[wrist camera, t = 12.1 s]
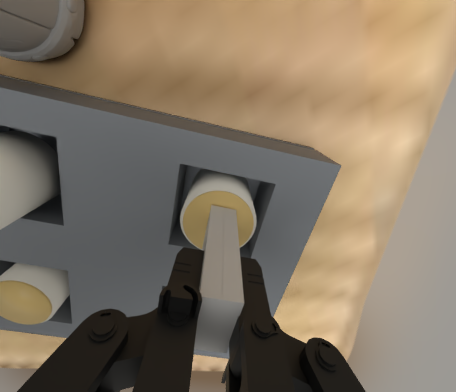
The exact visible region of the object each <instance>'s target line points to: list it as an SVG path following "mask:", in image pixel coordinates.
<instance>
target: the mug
mask: <svg viewBox="0 0 456 392" xmlns="http://www.w3.org/2000/svg"><path fill="white" fill-rule="evenodd" d="M84 9H85V7H84V0H0V56H2V57H6V58H9V59H13V60H18V61H27V62H36V61H43V60H47V59H50V58H55V57H58V56H61V55H63V54H65V53H66V52H68V51H69V50H70V49H71V48H72V47H73V46H74V41H73V38H75V39H78V38H79V37H80V35H81V32H82V29H83V22H84Z"/></svg>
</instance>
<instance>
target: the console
mask: <svg viewBox="0 0 456 392" xmlns="http://www.w3.org/2000/svg"><path fill="white" fill-rule="evenodd" d="M6 131H22V132H26V133H29V134H32V135H34V136H36V137H38V138H40V139H41V140H43V141H44V142H46V143H47V144H48V145H49V146H50V147H52V148H53V150H54V151H55V152H56V153H57V154H58V163H59V175H60V186H61V193H60V194H58V195H57V196H56V197H54V198H52V199H51V200H49V201H47V202H46V203H44V204H42V205H41V206H39V207H37V208H36V209H34V210H32V211H31V212H29V213H27V214H26V215H24V216H22V217H21V218H19V219H17V220H16V221H14V222H12V223H11V224H9V225H7V226H6V227H4V228H2V229H1V230H0V276H1V275H2V274H3V273H4V272H5V271H7V270H8V269H9V268H10V267H12V266H13V265H14V264H15V263H22V264H28V265H34V266H41V267H47V268H53V269H60V270H66V271H68V280H69V291H70V295H69V296H68V297H67V298H66V300H65V301H64V302H63V304H62V305H61V306H60V307H59V309H58V310H57V311H56V313H55V314H54V315H53V316H52V318H51V319H49V320H48V321H46V322H43V323H38V324H32V325H27V324H19V323H15V322H12V321H10V320H7V319H5V318H3V317H2V316H0V329H1V330H9V331H17V332H24V333H32V334H40V335H48V336H56V337H63V338H68V337H69V336H70V334H71V333H72V332H73V331H74V330H75V329H76V328H77V327H78V326H79V325H80V324H81V323H82V322H83V321H84V320H85V319H86V318H87V317H89V316H90V315H91V314H93V313H95V312H97V311H100V310H104V309H116V310H120V311H121V312H123V313H124V314H125V315H126V317H132V316H138V315H143V314H147V313H149V312H151V311H153V310H154V309H156V308H157V307H158V302H159V295H160V293H161V291H162V290H163V288H164V287H166V286H167V285H168V282H169V278H170V275H171V272H172V269H173V265H174V262H175V259H176V256H177V253H178V252H179V251H180V250H181V249H182V248H183V247H186V248H192V249H197V250H201V249H199V248H197V247H195V246H194V245H193V244H191V243H190V242H189V241H188V240H187V238H186V237H185V235H184V234H183V232H182V229H181V225H180V215H181V211H182V208H183V206H184V203H185V200H186V198H187V195H188V192H189V190H190V187H191V184H192V182H193V179H194V177H195V176H196V174H197V173H198V172H199V171H200V170H201V169H208V170H212V171H217V172H222V173H226V174H231V175H236V176H240V177H245V178H246V179H247V182H248V185H249V189H250V193H251V197H252V201H253V205H254V209H255V213H256V220H257V222H256V228H255V231H254V234H253V235H252V237H251V238H250V240H249V241H248V242H247V243H246V244H245V245H243V246H242V247H240V248H239V249H240V256H241V257H246V258H252V259H256V260H257V262H258V263H259V265H260V266H261V268H262V273H263V278H264V283H265V284H264V285H265V288H266V293H267V298H268V303H269V308H270V312H271V316H272V317H273V316H274V314H275V312H276V309H277V307H278V305H279V303H280V301H281V298H282V296H283V294H284V292H285V289H286V287H287V285H288V283H289V281H290V278H291V276H292V274H293V272H294V270H295V267H296V265H297V263H298V261H299V258H300V256H301V254H302V252H303V250H304V247H305V245H306V243H307V241H308V239H309V236H310V234H311V232H312V230H313V227H314V225H315V223H316V221H317V219H318V216H319V214H320V212H321V210H322V208H323V205H324V203H325V201H326V199H327V196H328V194H329V192H330V190H331V188H332V185H333V183H334V181H335V179H336V177H337V174H338V172H339V170H340V168H341V165H339V164H338V163H336V162H335V161H333V160H331V159H330V158H328V157H326V156H325V155H323V154H322V153H320V152H318V151H317V150H314V149H313V148H311V147H307V146H303V145H299V144H294V143H290V142H286V141H282V140H277V139H273V138H269V137H265V136H260V135H256V134H252V133H248V132H243V131H239V130H235V129H231V128H226V127H222V126H218V125H213V124H209V123H205V122H201V121H196V120H192V119H188V118H184V117H179V116H175V115H171V114H167V113H162V112H158V111H154V110H150V109H145V108H141V107H137V106H133V105H128V104H124V103H120V102H116V101H111V100H107V99H103V98H99V97H94V96H90V95H86V94H82V93H77V92H73V91H69V90H65V89H60V88H56V87H52V86H48V85H43V84H39V83H35V82H31V81H26V80H22V79H18V78H14V77H9V76H5V75H1V74H0V132H6ZM194 354H196V355H204V356H211V357H219V358H227V359H229V347H228V350H227V353H220V352H212V351H204V350H197V349H194Z"/></svg>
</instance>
